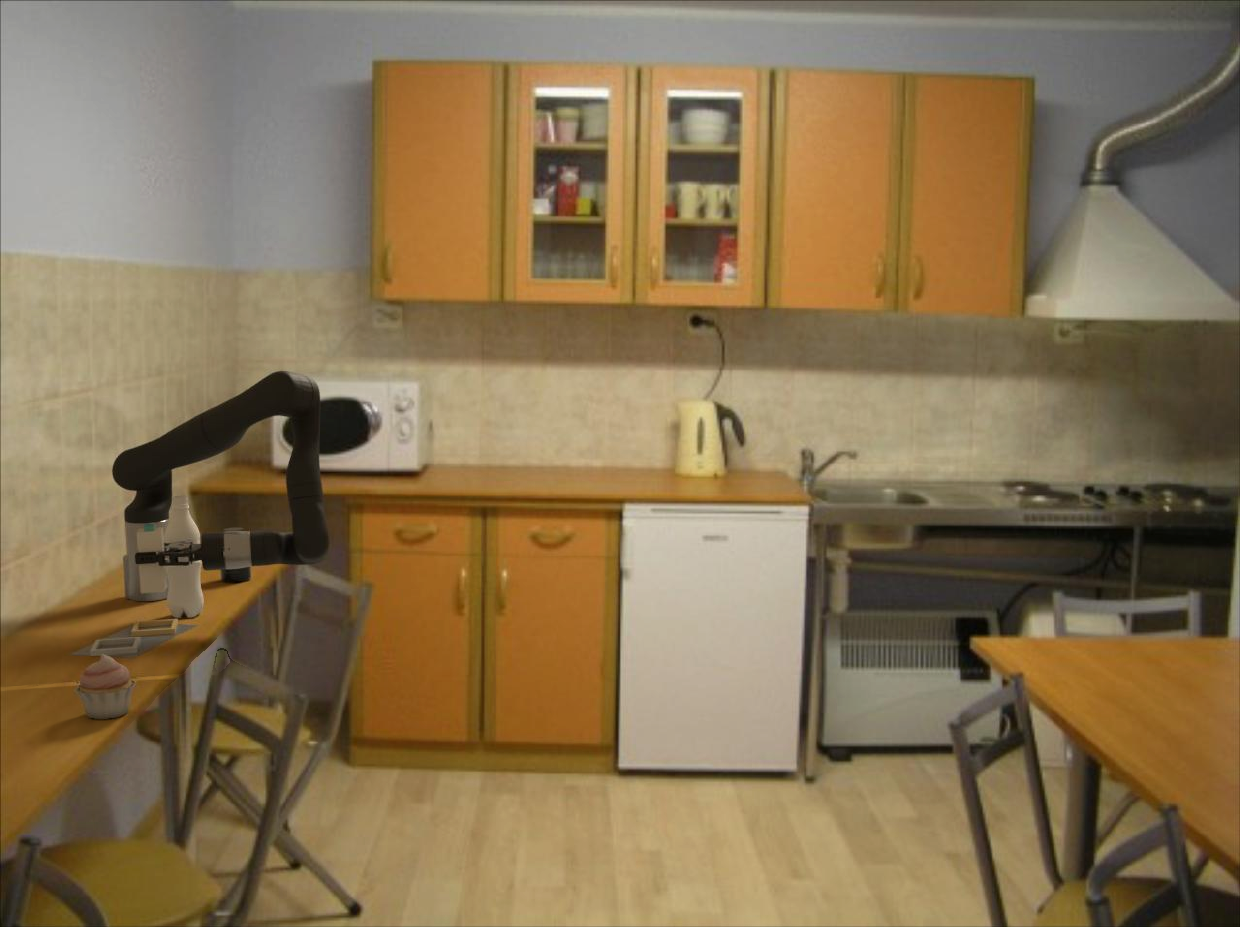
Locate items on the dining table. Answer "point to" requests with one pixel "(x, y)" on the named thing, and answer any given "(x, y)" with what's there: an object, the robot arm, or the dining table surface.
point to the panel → (136, 639)
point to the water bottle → (183, 578)
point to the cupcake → (105, 689)
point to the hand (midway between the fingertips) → (137, 556)
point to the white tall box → (151, 573)
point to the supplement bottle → (235, 574)
